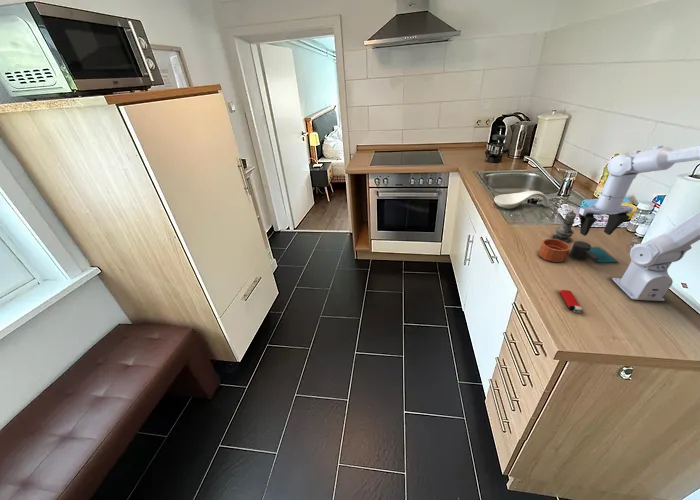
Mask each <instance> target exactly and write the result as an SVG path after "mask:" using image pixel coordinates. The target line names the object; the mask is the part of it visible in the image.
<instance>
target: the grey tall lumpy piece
mask: <svg viewBox="0 0 700 500" xmlns="http://www.w3.org/2000/svg"><path fill="white" fill-rule="evenodd" d="M576 217H577V214H576V212H575V211H574V210H573V209H572V210H571V211H568V212H566V214H565V217H564V219H562V224H561V225H560V226H558V227H556V228H555V234H556V235H553V239H557V240H561V241H563V242H566V243H569V242H571V239H570V238H571V237H572V236H573V235H574V234H575V230H573V228H572V227H573V225H574V224H575V219H576Z"/></svg>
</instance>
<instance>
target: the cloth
mask: <svg viewBox="0 0 700 500" xmlns="http://www.w3.org/2000/svg"><path fill="white" fill-rule="evenodd" d="M590 251H591V252H592V253H593V254H595V255H596V256H597V257H598V258H599V260H594V261H595V262H596V263H597V264H612V263H613V264H615V263H616V264H617V263H618V260H616V259H615V258H614V257H612V256H611V255H610V254H608V253H607V252H605V251H604V250H603V249H601V247H591V249H590Z"/></svg>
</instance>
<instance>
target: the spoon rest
mask: <svg viewBox="0 0 700 500" xmlns="http://www.w3.org/2000/svg"><path fill="white" fill-rule="evenodd" d="M533 196H539V197H542V202H541V204H542V205H543V207H545V208H548V207H549V204H550V201H549V197H548V196H547V195H546V194H544V193H543V192H541V191H539V190H526V191H520V192H514V193H504V194H498V195H496V196H495V197H494V198H493V200H494V203H495V204H496V205H497V206H498V207H501V208H503V209H506V210H511V209H515V208H516V207H518V206H520V205H521V204H522V203H523V202H525V201H527V200H528V199H530V198H531V197H533Z"/></svg>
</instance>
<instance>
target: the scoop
mask: <svg viewBox="0 0 700 500" xmlns="http://www.w3.org/2000/svg"><path fill="white" fill-rule="evenodd" d="M591 248H592V245H591V244H590V243H589V242H585V241H582V240H576V241H573V244H572V247H571V248H570V250H569V256H570V257H571V258H573V259H576V260H581V261H584V260H586V259H587V257H589V258H590V259H592V260H593V261H595V260H599V258H598V257H597V256H596V255H595V254H593V253H592V252H591V251H590V249H591Z"/></svg>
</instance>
